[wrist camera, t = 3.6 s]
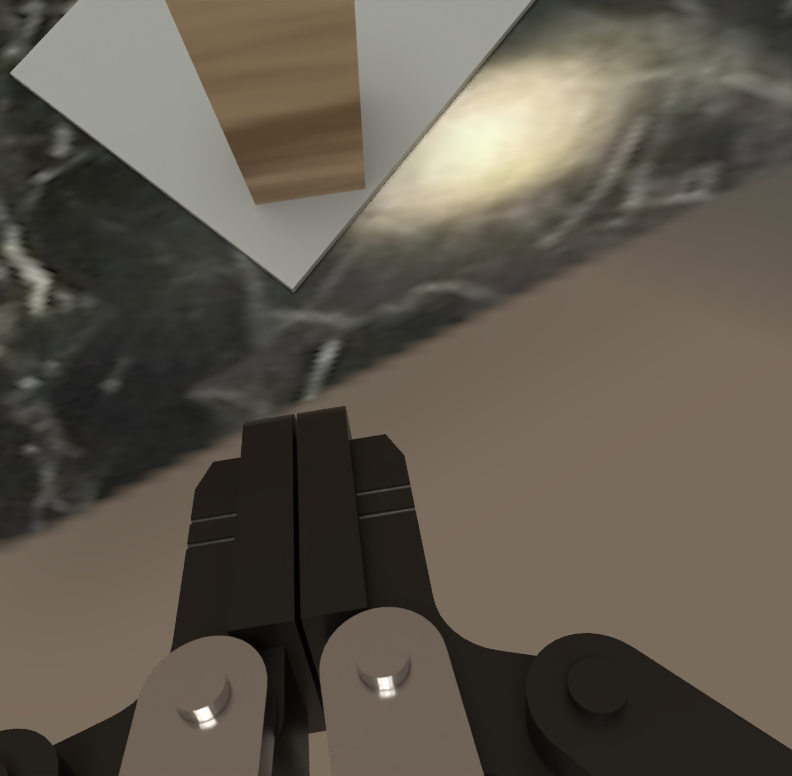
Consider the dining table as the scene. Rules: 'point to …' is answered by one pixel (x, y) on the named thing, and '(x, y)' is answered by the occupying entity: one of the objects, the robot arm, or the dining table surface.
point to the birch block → (281, 90)
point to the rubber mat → (202, 134)
